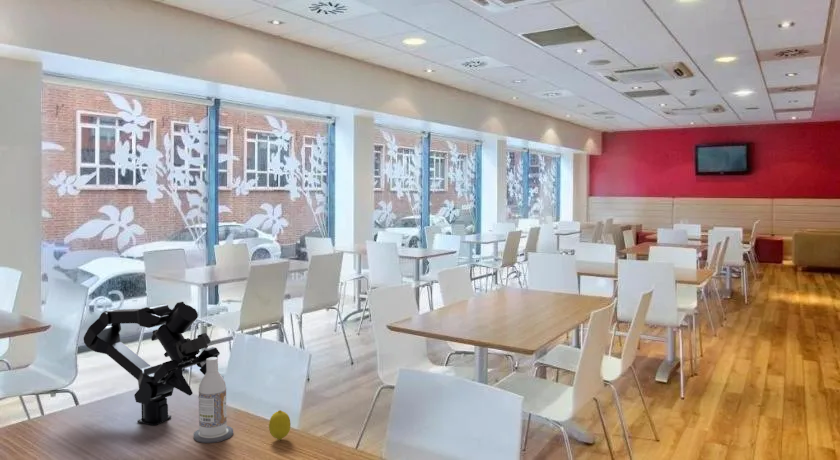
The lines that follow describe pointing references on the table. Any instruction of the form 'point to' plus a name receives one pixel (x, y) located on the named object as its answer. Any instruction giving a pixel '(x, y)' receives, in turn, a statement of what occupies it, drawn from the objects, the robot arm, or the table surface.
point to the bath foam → (212, 401)
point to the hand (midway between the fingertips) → (204, 389)
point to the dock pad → (213, 439)
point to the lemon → (279, 425)
